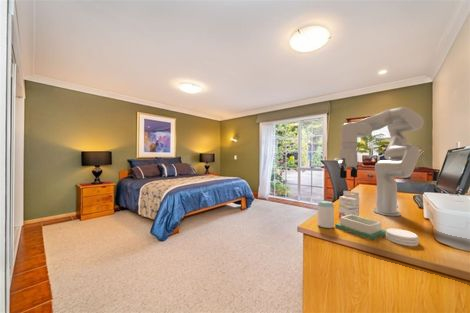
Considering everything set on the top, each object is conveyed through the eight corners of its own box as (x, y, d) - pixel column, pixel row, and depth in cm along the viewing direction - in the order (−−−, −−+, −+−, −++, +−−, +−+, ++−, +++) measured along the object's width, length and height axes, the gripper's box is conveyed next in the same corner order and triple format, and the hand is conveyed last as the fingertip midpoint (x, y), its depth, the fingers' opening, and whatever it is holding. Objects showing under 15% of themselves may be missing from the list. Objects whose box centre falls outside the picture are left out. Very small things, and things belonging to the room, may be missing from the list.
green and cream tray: (349, 222, 98) (349, 213, 98) (386, 234, 84) (386, 222, 84) (335, 227, 92) (335, 216, 92) (372, 240, 78) (372, 227, 78)
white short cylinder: (425, 247, 72) (425, 238, 72) (396, 246, 73) (396, 237, 73) (405, 236, 82) (405, 228, 82) (380, 235, 83) (380, 227, 83)
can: (334, 225, 94) (334, 201, 94) (333, 230, 88) (333, 204, 88) (319, 222, 98) (319, 199, 98) (316, 227, 92) (316, 202, 92)
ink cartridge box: (338, 217, 106) (338, 191, 106) (343, 215, 109) (343, 190, 109) (355, 222, 99) (355, 193, 99) (359, 220, 102) (359, 192, 102)
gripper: (351, 146, 112) (350, 176, 112) (332, 145, 103) (332, 177, 103) (365, 146, 105) (364, 177, 105) (346, 145, 97) (346, 179, 97)
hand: (348, 177), depth 104 cm, fingers open, 9 cm apart
